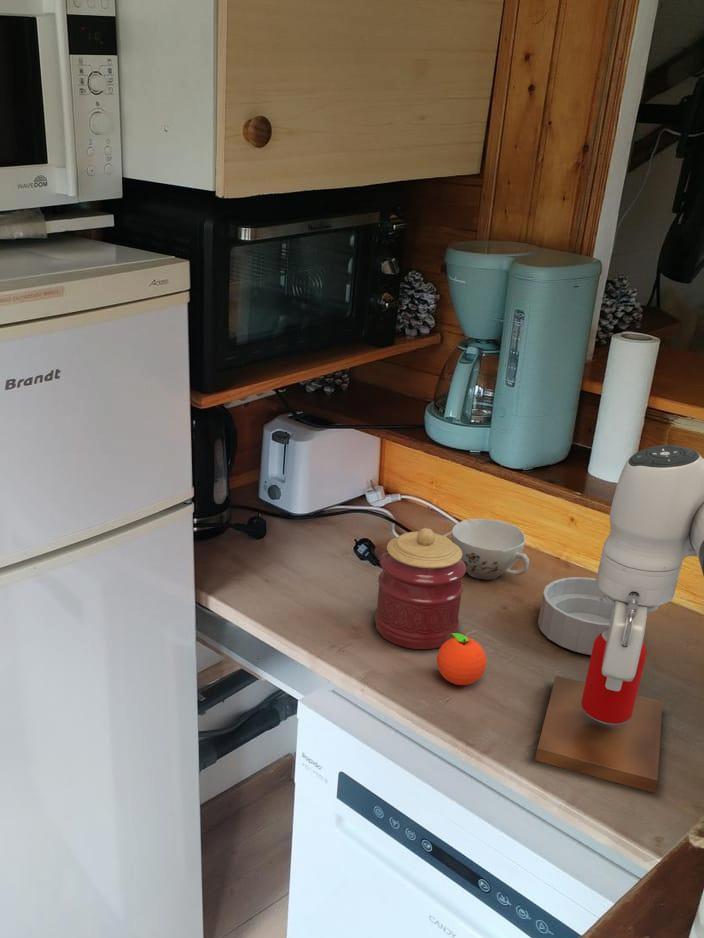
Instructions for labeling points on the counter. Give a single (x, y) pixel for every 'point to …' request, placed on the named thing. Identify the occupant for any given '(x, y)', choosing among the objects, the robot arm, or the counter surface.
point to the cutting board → (601, 739)
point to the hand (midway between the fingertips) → (614, 672)
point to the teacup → (490, 547)
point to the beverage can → (602, 700)
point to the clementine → (461, 660)
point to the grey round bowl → (574, 613)
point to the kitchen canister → (419, 590)
